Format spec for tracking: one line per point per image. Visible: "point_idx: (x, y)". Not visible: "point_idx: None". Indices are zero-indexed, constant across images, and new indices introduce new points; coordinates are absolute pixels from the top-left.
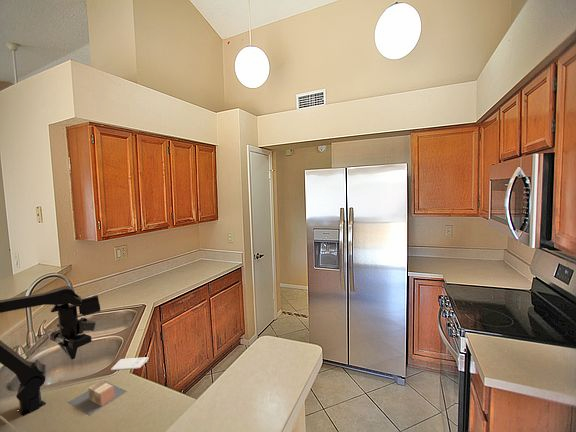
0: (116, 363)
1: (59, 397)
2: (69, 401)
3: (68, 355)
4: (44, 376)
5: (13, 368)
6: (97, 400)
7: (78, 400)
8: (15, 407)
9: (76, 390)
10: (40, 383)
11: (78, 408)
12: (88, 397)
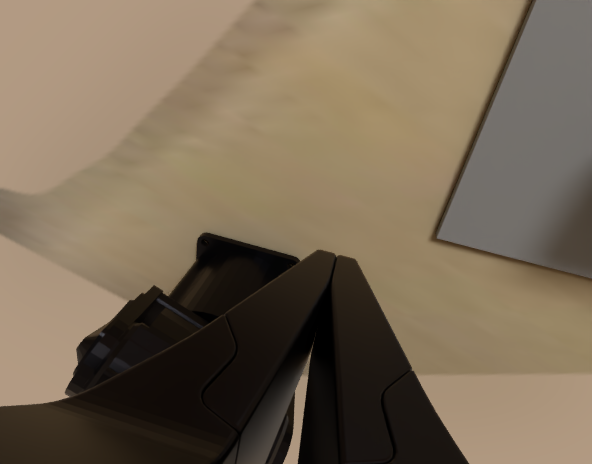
0: None
1: (308, 194)
2: (441, 230)
3: (297, 378)
4: (281, 437)
5: None
6: None
7: (507, 215)
8: (155, 285)
9: (358, 113)
10: (293, 423)
11: (583, 275)
12: (570, 178)
